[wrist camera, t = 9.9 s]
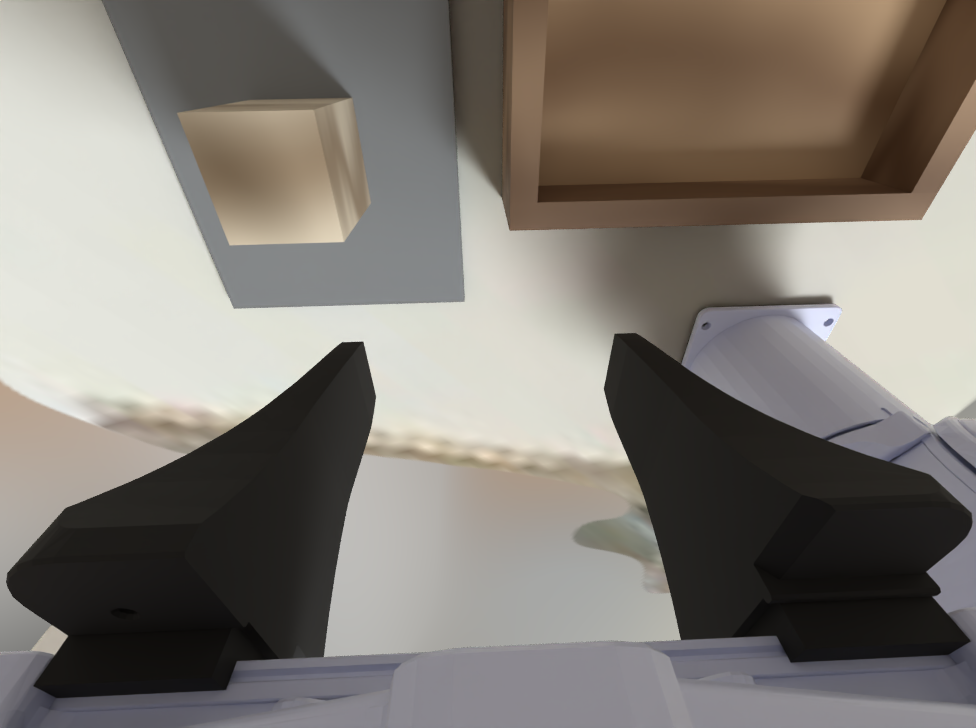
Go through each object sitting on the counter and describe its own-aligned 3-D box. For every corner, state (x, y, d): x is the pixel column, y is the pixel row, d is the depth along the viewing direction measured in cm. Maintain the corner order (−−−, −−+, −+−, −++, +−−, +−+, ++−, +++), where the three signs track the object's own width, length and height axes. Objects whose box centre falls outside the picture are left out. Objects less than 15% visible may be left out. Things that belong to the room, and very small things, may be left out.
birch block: (371, 202, 19) (343, 241, 15) (281, 205, 19) (229, 245, 15) (352, 97, 16) (313, 110, 12) (249, 99, 16) (176, 112, 12)
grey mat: (464, 296, 22) (464, 301, 22) (239, 303, 22) (233, 308, 21) (444, -78, 14) (443, -84, 13) (81, -75, 14) (68, -79, 13)
